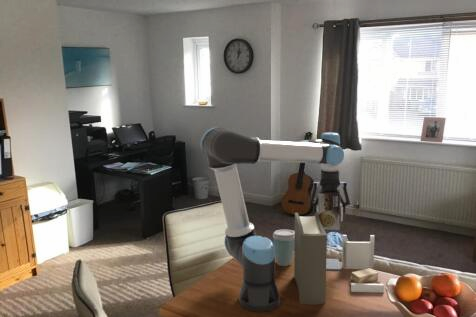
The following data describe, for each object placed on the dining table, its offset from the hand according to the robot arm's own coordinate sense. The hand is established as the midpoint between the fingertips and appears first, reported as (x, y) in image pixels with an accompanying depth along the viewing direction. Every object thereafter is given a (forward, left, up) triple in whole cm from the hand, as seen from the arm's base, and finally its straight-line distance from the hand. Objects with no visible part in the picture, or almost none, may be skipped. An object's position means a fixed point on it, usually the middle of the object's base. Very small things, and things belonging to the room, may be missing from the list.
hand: (329, 220), depth 177 cm
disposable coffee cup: (-19, +1, -21) cm, 28 cm away
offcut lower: (+12, -18, -21) cm, 30 cm away
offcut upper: (+12, -18, -18) cm, 28 cm away
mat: (0, 0, -21) cm, 21 cm away
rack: (+12, -13, -21) cm, 27 cm away
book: (-10, -22, -21) cm, 32 cm away
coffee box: (0, 0, -3) cm, 3 cm away
